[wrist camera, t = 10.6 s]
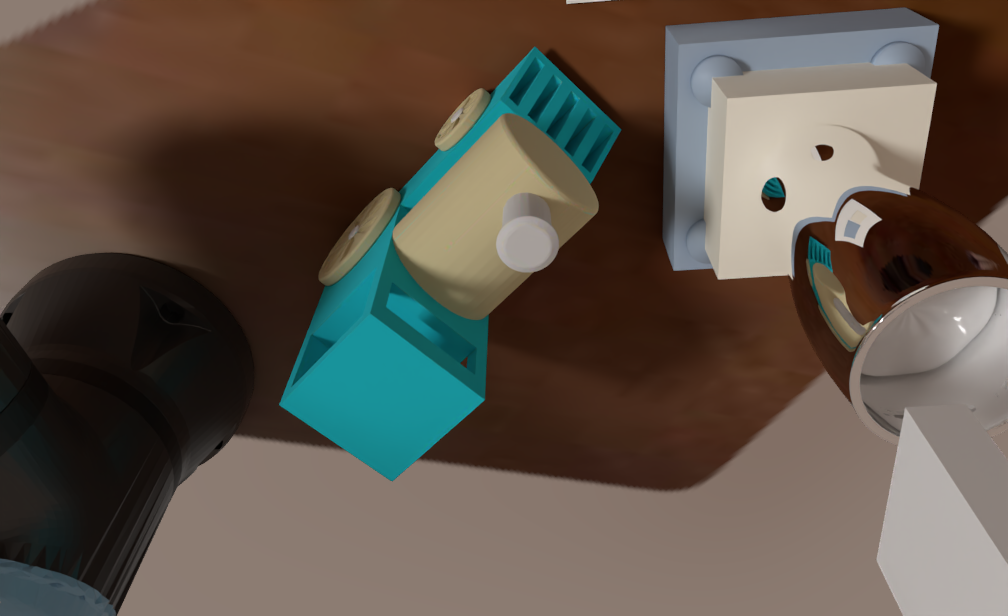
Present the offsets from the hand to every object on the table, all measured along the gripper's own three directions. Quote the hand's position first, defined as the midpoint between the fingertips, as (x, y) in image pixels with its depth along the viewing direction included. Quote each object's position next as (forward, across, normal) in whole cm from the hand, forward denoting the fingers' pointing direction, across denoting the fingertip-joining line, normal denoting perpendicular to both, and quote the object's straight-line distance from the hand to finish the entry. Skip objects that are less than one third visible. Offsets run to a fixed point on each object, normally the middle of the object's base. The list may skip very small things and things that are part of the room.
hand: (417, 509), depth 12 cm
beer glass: (+29, +15, -8) cm, 33 cm away
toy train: (+37, -2, -10) cm, 38 cm away
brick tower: (+37, +15, -8) cm, 40 cm away
